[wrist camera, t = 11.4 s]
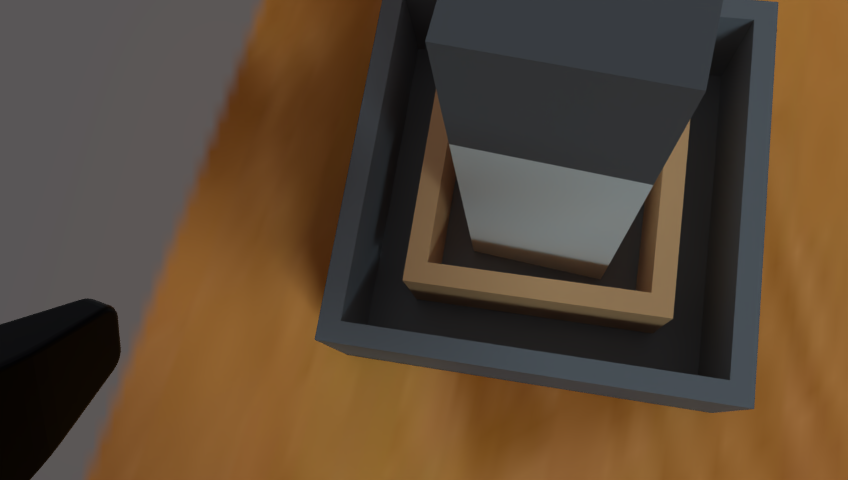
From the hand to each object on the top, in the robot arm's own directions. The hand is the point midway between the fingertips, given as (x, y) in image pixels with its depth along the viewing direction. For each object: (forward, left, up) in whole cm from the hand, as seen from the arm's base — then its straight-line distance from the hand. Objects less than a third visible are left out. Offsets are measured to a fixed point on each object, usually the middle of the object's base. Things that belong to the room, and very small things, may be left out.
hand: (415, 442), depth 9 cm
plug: (+7, -1, -13) cm, 15 cm away
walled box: (+7, -1, -14) cm, 15 cm away
